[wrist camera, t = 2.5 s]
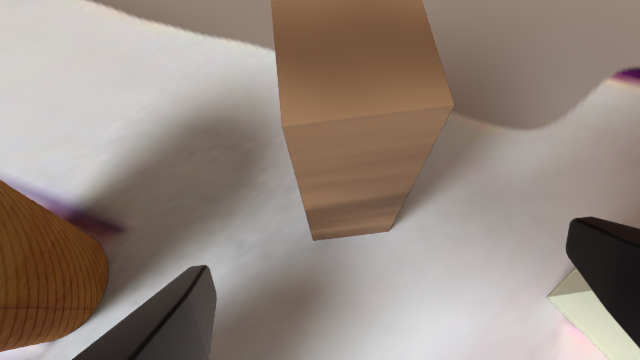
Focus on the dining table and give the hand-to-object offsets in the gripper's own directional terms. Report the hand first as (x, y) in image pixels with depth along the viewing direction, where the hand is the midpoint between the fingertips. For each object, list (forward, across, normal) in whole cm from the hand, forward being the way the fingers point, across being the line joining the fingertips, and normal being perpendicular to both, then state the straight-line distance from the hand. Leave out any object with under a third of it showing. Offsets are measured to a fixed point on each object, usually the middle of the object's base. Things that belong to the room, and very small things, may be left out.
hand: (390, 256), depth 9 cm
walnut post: (+12, 0, +4) cm, 13 cm away
